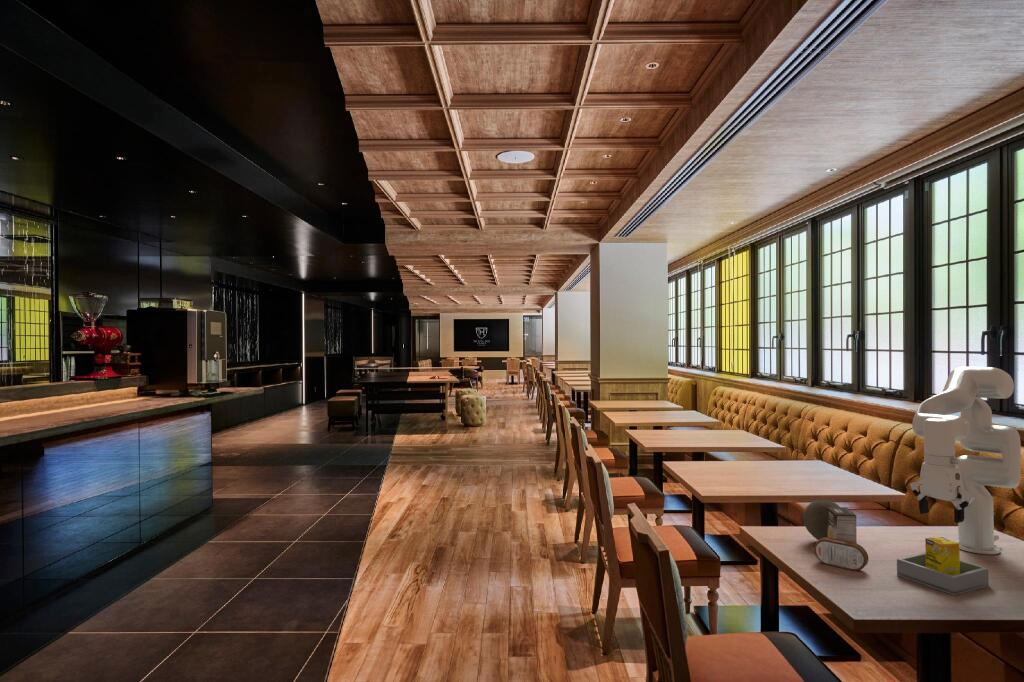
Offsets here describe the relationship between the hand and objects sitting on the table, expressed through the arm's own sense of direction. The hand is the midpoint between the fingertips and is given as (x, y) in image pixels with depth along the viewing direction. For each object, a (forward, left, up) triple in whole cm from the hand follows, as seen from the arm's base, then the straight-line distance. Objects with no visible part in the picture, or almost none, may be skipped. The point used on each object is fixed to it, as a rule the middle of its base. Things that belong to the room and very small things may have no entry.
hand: (941, 517), depth 175 cm
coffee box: (+12, -24, -19) cm, 32 cm away
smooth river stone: (+3, -37, -19) cm, 41 cm away
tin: (+18, -20, -19) cm, 33 cm away
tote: (+1, 0, -19) cm, 19 cm away
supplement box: (0, 0, -18) cm, 18 cm away
